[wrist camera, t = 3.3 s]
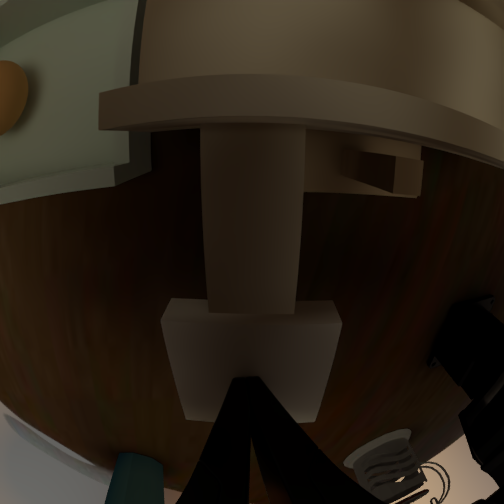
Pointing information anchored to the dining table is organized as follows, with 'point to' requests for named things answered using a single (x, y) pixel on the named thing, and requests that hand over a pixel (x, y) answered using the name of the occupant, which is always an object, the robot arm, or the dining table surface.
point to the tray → (70, 95)
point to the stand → (361, 164)
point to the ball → (11, 94)
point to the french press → (391, 468)
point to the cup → (136, 481)
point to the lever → (294, 154)
